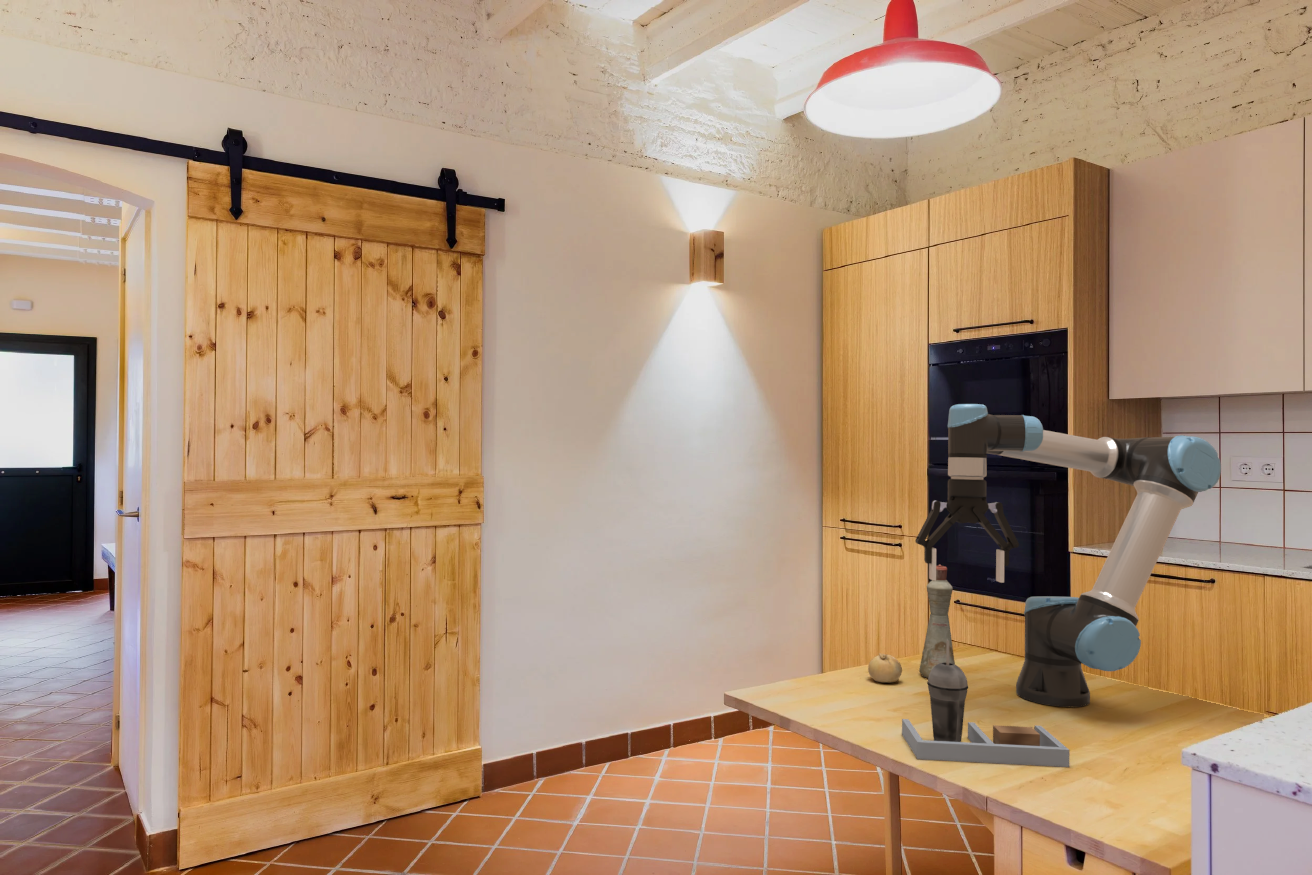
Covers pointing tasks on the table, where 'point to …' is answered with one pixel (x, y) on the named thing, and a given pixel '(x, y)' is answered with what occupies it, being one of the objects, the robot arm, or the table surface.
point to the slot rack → (988, 748)
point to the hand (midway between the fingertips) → (966, 580)
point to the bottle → (937, 624)
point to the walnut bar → (1015, 735)
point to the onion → (884, 668)
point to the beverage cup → (947, 700)
